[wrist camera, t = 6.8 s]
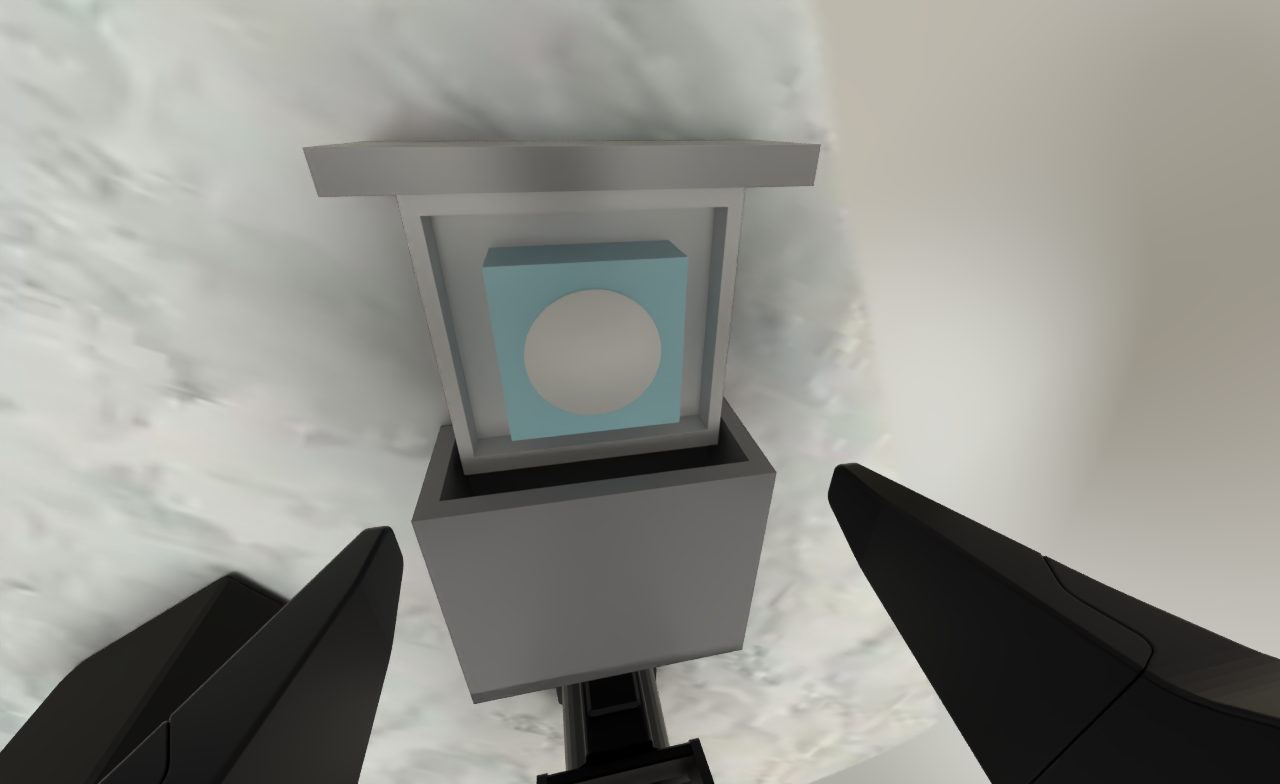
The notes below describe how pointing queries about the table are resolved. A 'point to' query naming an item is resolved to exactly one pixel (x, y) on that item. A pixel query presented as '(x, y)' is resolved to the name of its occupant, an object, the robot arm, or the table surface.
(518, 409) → the block
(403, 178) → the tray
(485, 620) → the grey drawer box
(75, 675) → the electronic device
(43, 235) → the table surface
